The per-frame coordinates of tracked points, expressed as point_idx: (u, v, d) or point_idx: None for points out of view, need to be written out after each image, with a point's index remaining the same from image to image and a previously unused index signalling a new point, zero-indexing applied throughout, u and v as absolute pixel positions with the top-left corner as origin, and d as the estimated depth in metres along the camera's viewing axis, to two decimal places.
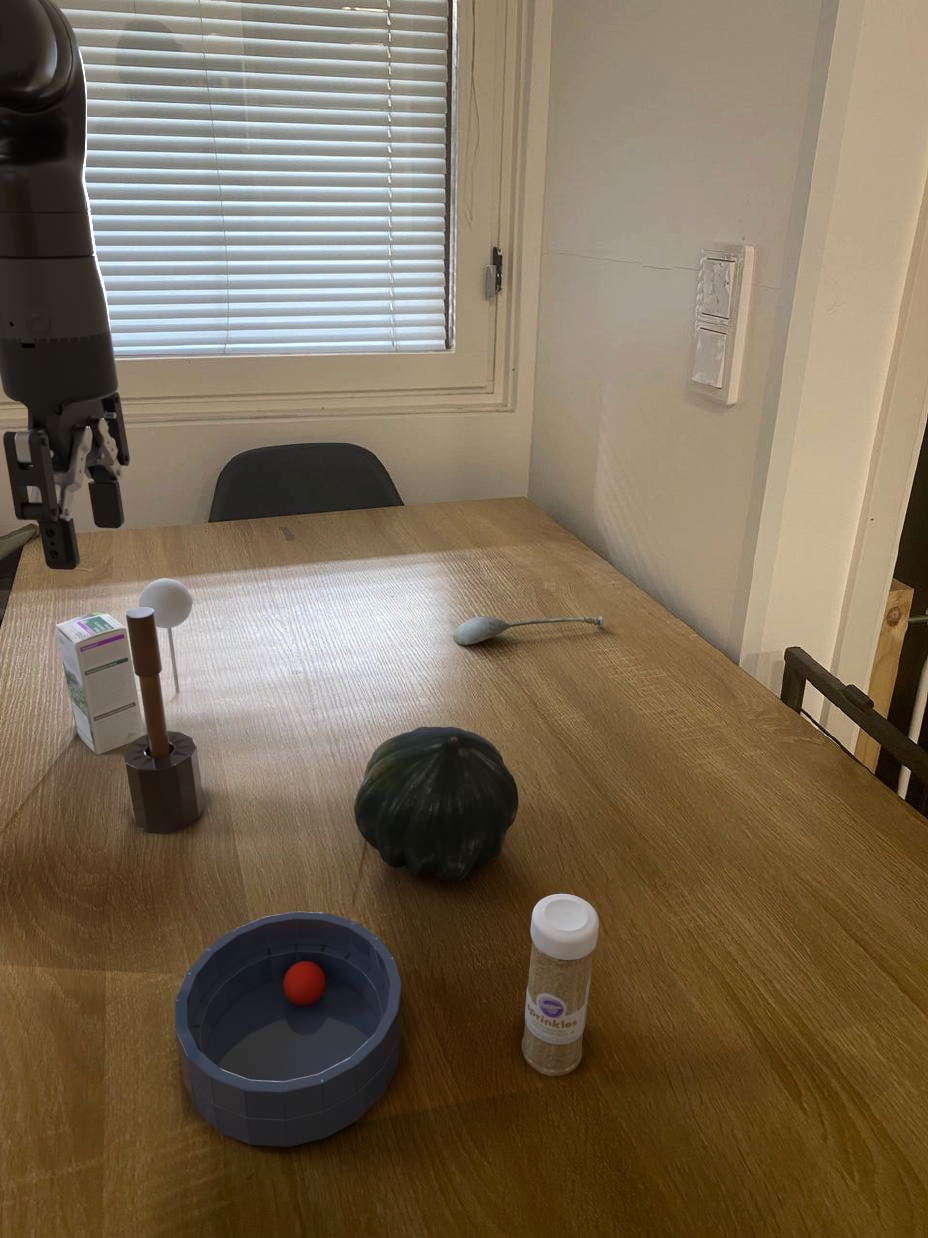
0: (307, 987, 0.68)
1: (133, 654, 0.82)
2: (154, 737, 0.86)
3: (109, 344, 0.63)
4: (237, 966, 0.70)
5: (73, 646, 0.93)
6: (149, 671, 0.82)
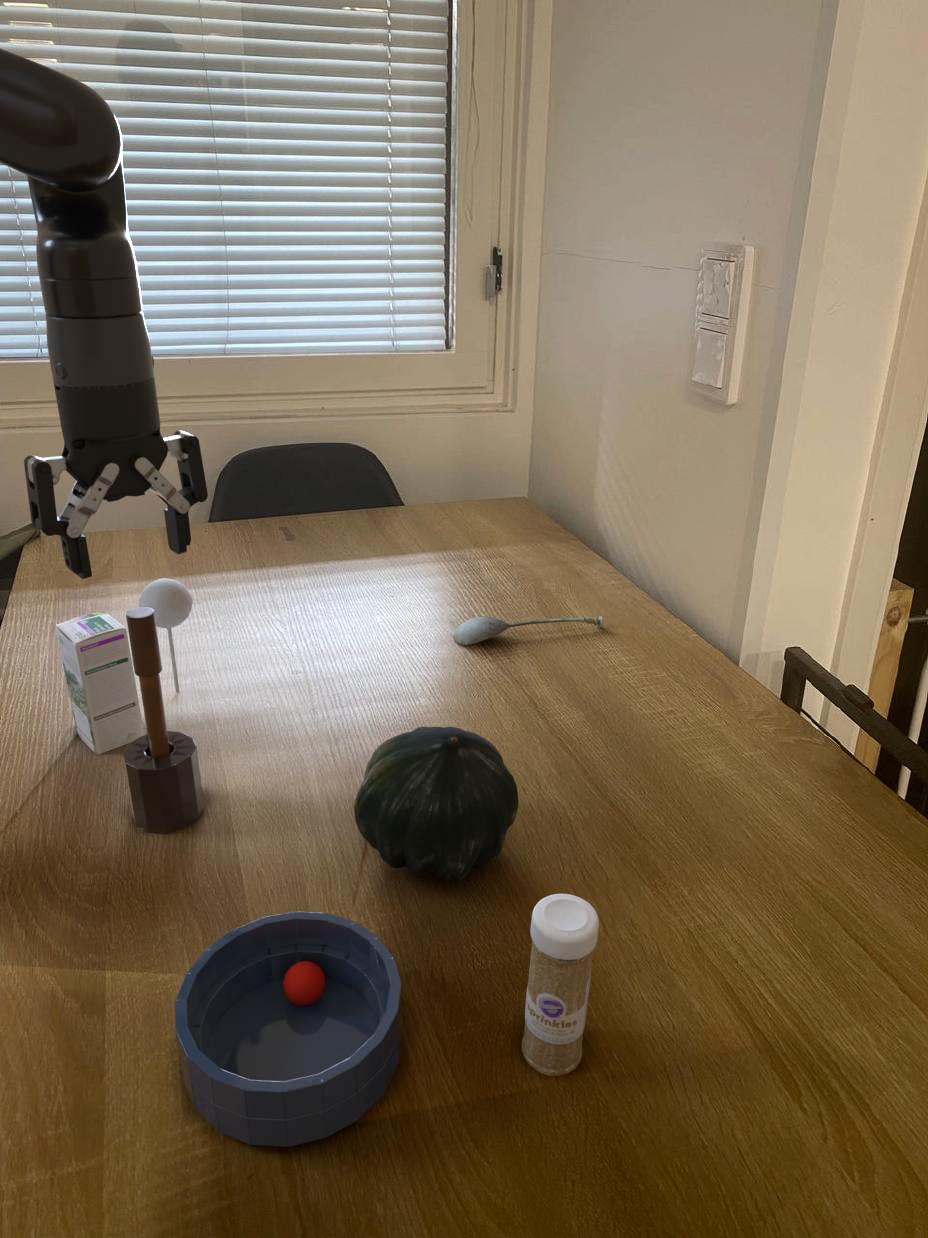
0: (307, 987, 0.68)
1: (133, 654, 0.82)
2: (154, 737, 0.86)
3: (128, 395, 0.70)
4: (237, 966, 0.70)
5: (73, 646, 0.93)
6: (149, 671, 0.82)
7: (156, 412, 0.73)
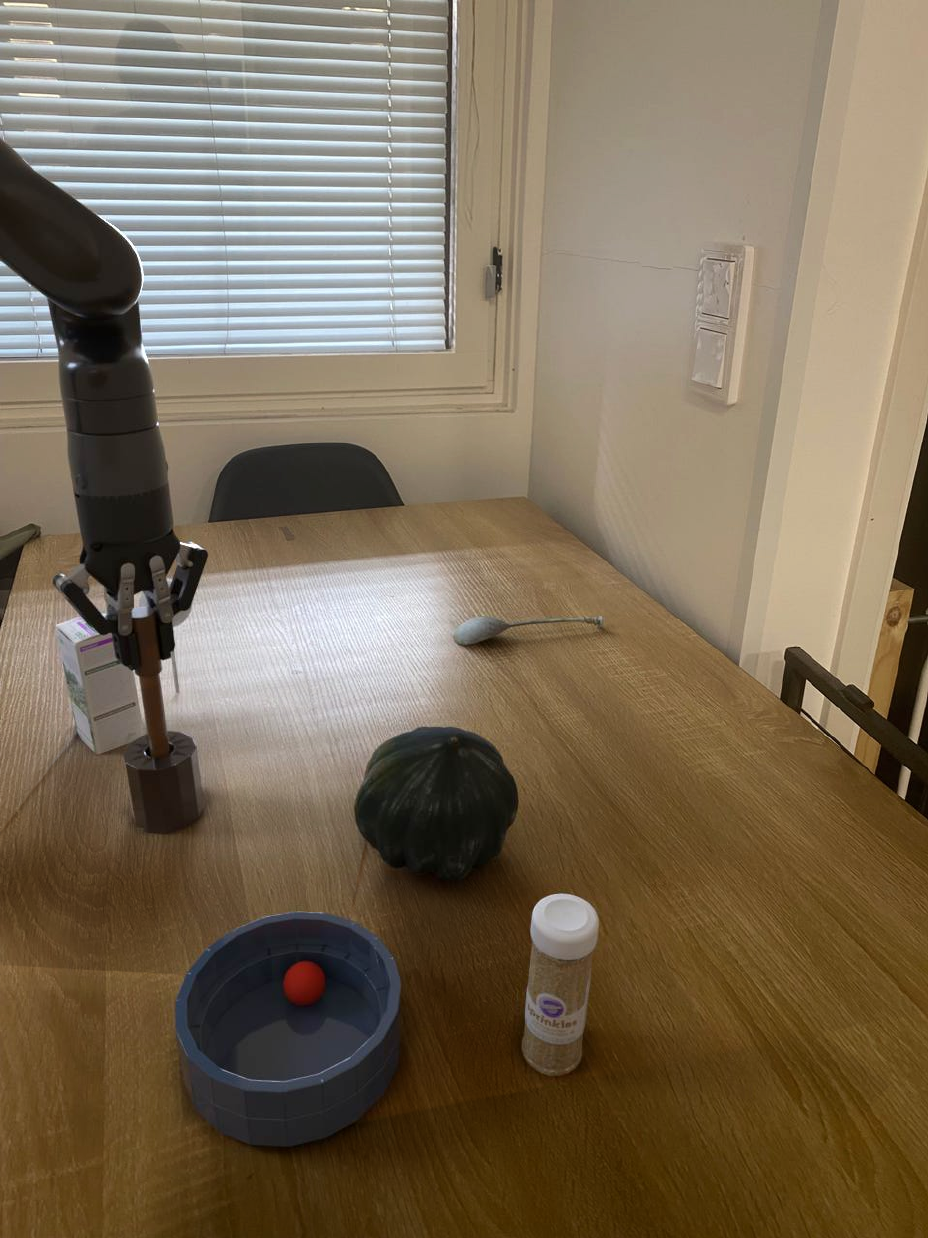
0: (307, 987, 0.68)
1: None
2: (154, 737, 0.86)
3: (145, 503, 0.74)
4: (237, 966, 0.70)
5: (73, 646, 0.93)
6: (149, 671, 0.82)
7: (170, 514, 0.77)
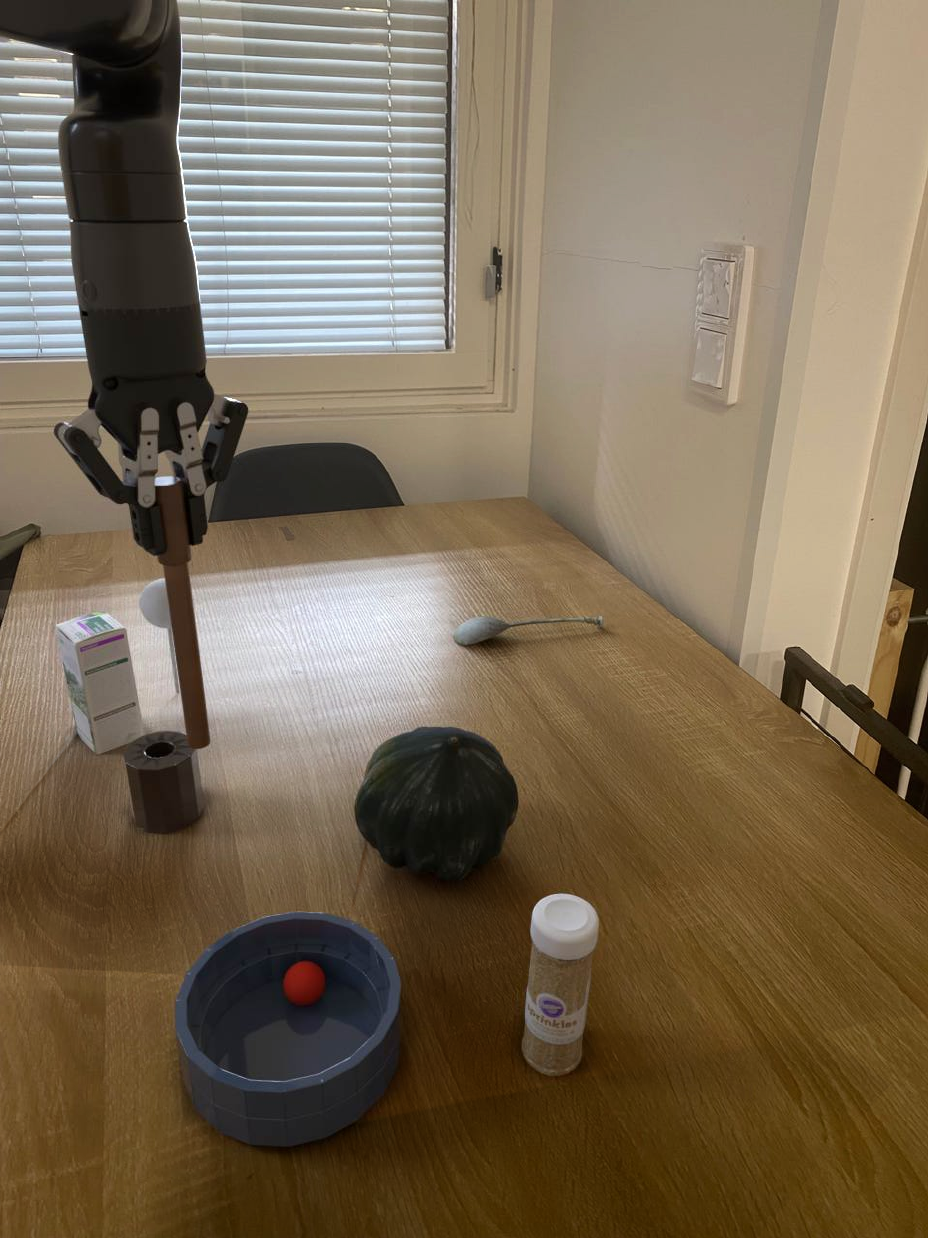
0: (307, 987, 0.68)
1: None
2: (183, 646, 0.69)
3: (172, 322, 0.57)
4: (237, 966, 0.70)
5: (73, 646, 0.93)
6: (176, 558, 0.65)
7: (203, 346, 0.60)
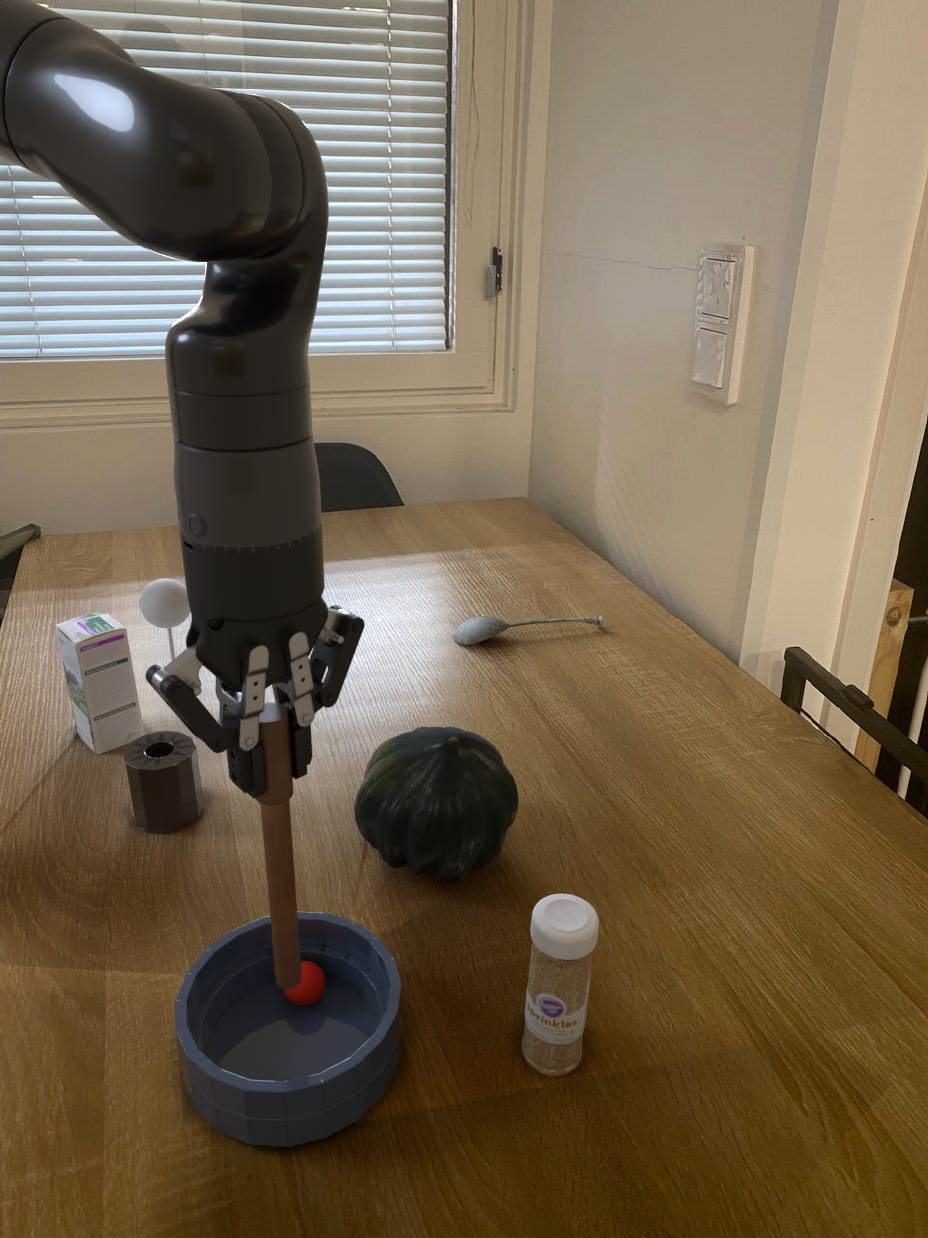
0: (307, 987, 0.68)
1: None
2: (278, 886, 0.59)
3: (294, 556, 0.47)
4: (237, 966, 0.70)
5: (73, 646, 0.93)
6: (278, 797, 0.56)
7: (323, 571, 0.50)
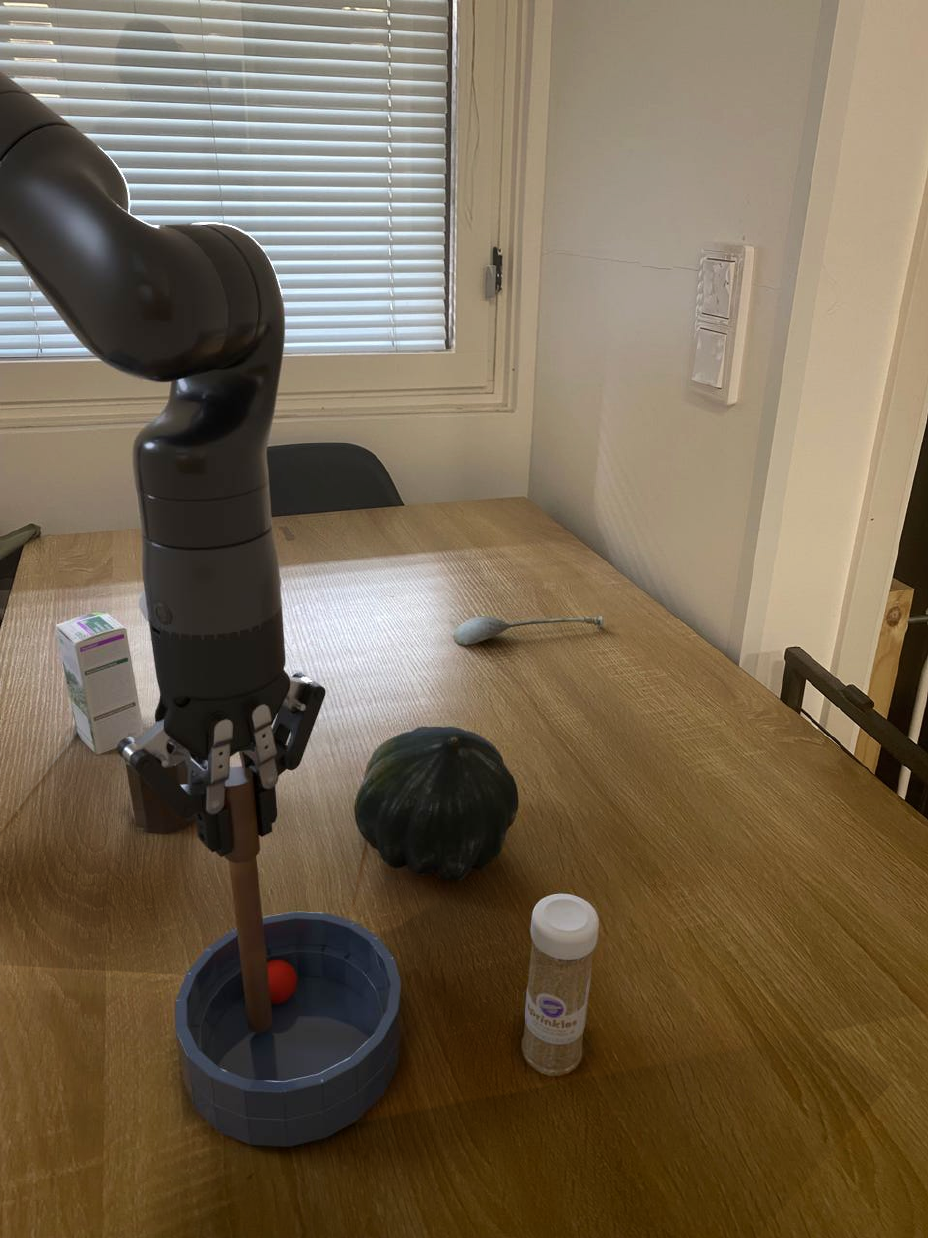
0: None
1: None
2: (247, 937, 0.62)
3: (254, 641, 0.51)
4: (237, 966, 0.70)
5: (73, 646, 0.93)
6: (244, 855, 0.59)
7: (283, 649, 0.54)
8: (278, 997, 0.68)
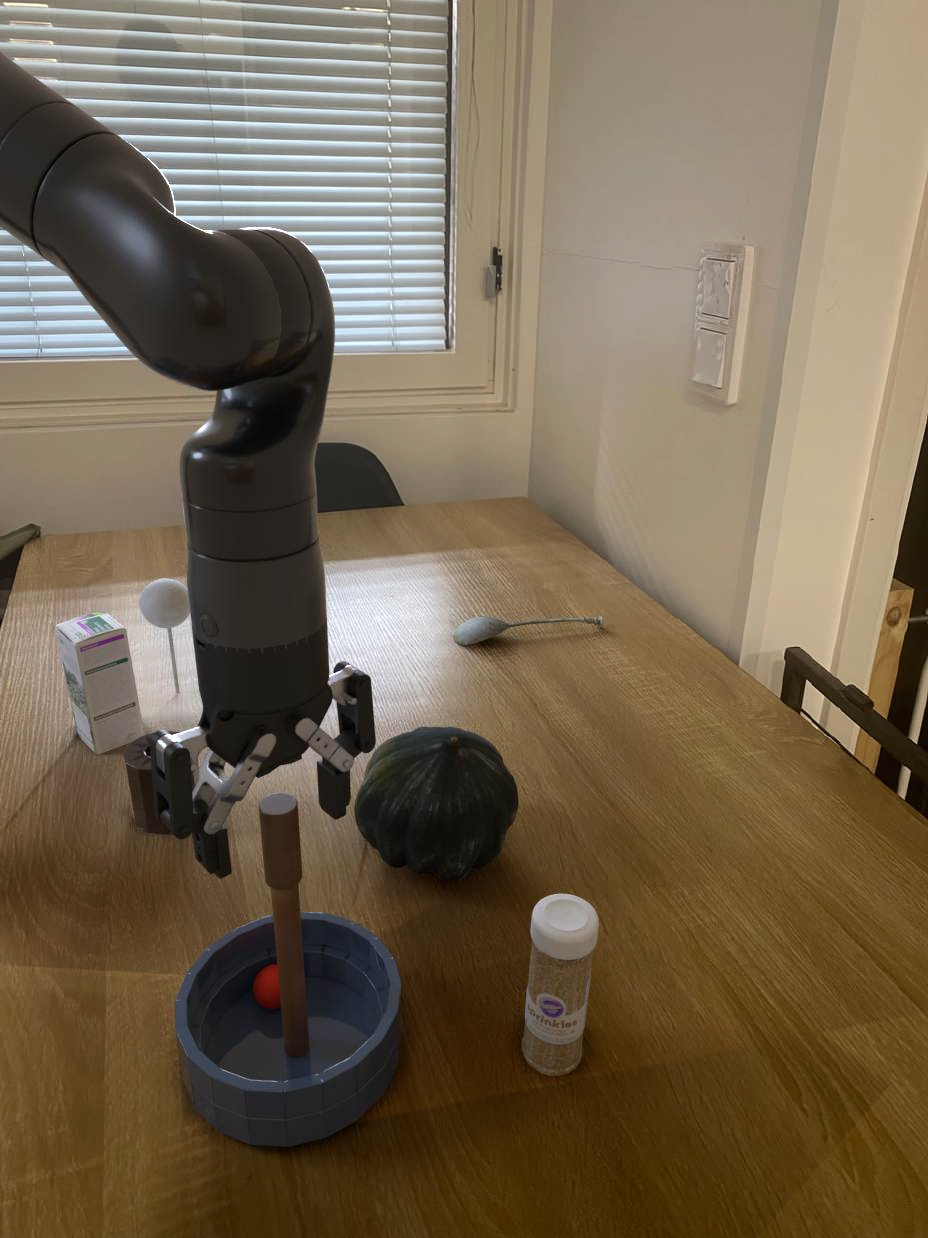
0: (261, 985, 0.68)
1: (267, 860, 0.58)
2: (287, 963, 0.62)
3: (300, 654, 0.50)
4: (237, 966, 0.70)
5: (73, 646, 0.93)
6: (287, 882, 0.58)
7: (328, 662, 0.53)
8: (277, 1006, 0.68)
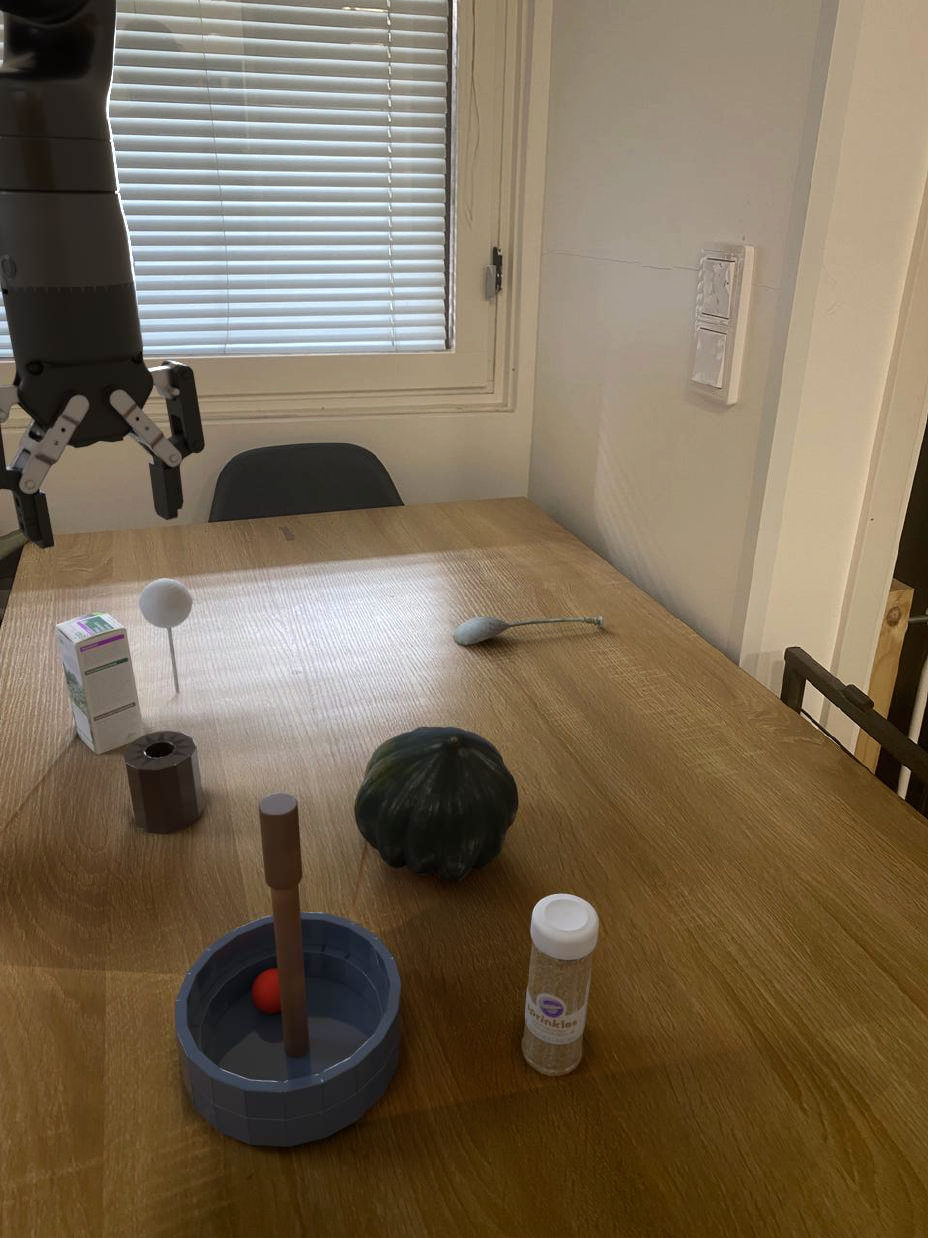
0: (259, 995, 0.68)
1: (267, 860, 0.58)
2: (287, 963, 0.62)
3: (100, 302, 0.53)
4: (237, 966, 0.70)
5: (73, 646, 0.93)
6: (287, 882, 0.58)
7: (137, 329, 0.56)
8: (276, 1012, 0.68)
